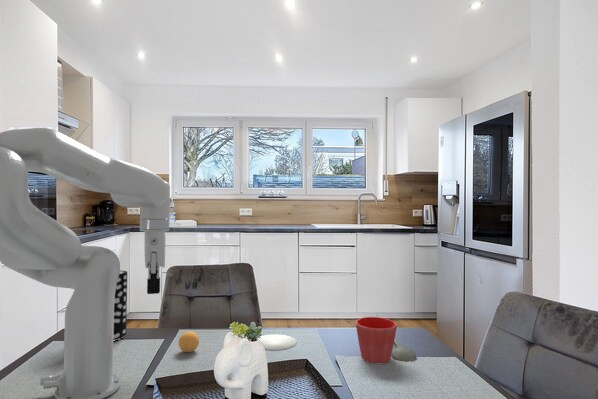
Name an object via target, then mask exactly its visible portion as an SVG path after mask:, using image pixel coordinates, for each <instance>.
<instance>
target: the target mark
mask: <svg viewBox="0 0 598 399" xmlns="http://www.w3.org/2000/svg"><path fill="white" fill-rule="evenodd" d="M260 337H261V338H260V339H259V340H260V341H261V342H262V343H263V345H264V347H265V350H266V351H284V350H288V349H291V348H293V347H295V346H296V344H297V340H296V339H295V338H294V337H292V336H289V335H284V334H265V335H261V336H260ZM265 350H264V351H265Z"/></svg>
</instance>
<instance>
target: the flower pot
mask: <svg viewBox="0 0 598 399" xmlns="http://www.w3.org/2000/svg"><path fill="white" fill-rule="evenodd" d="M355 327H356V333H357V334H356V335H357V339H358V345H359V352H360V356H361V359H362V358H363V359H364V360H363V359H362V360H363V361H365V362H367V361H368V362H367V363H370V362H372V363H371V364H376V363H382V364H385V363H388V362H390V361H391V359H392V358H391V357H392V349H393V348H394V344H395V342H394V340H396V333H397V327H398V325H397V323H396V322H395V321H393V320H392V319H388V318H384V317H378V316H377V317H376V316H365V317H361V318H358V319H356V320H355Z"/></svg>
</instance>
